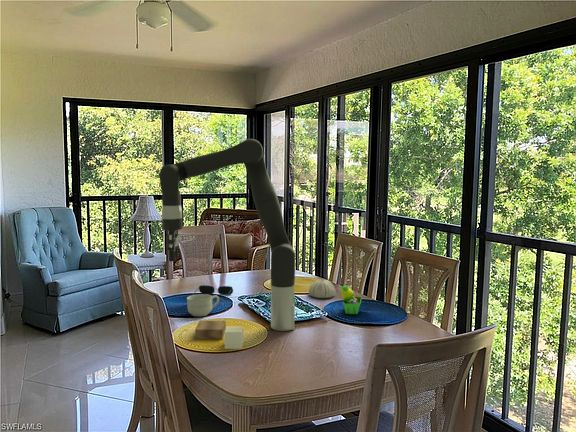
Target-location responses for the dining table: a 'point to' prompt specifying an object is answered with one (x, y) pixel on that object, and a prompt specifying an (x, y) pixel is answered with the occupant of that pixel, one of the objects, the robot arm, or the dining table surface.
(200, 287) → the sunglasses
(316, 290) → the sea urchin shell
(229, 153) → the robot arm
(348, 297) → the fruit basket
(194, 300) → the teacup
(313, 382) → the dining table surface
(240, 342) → the cream cube
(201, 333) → the walnut base
